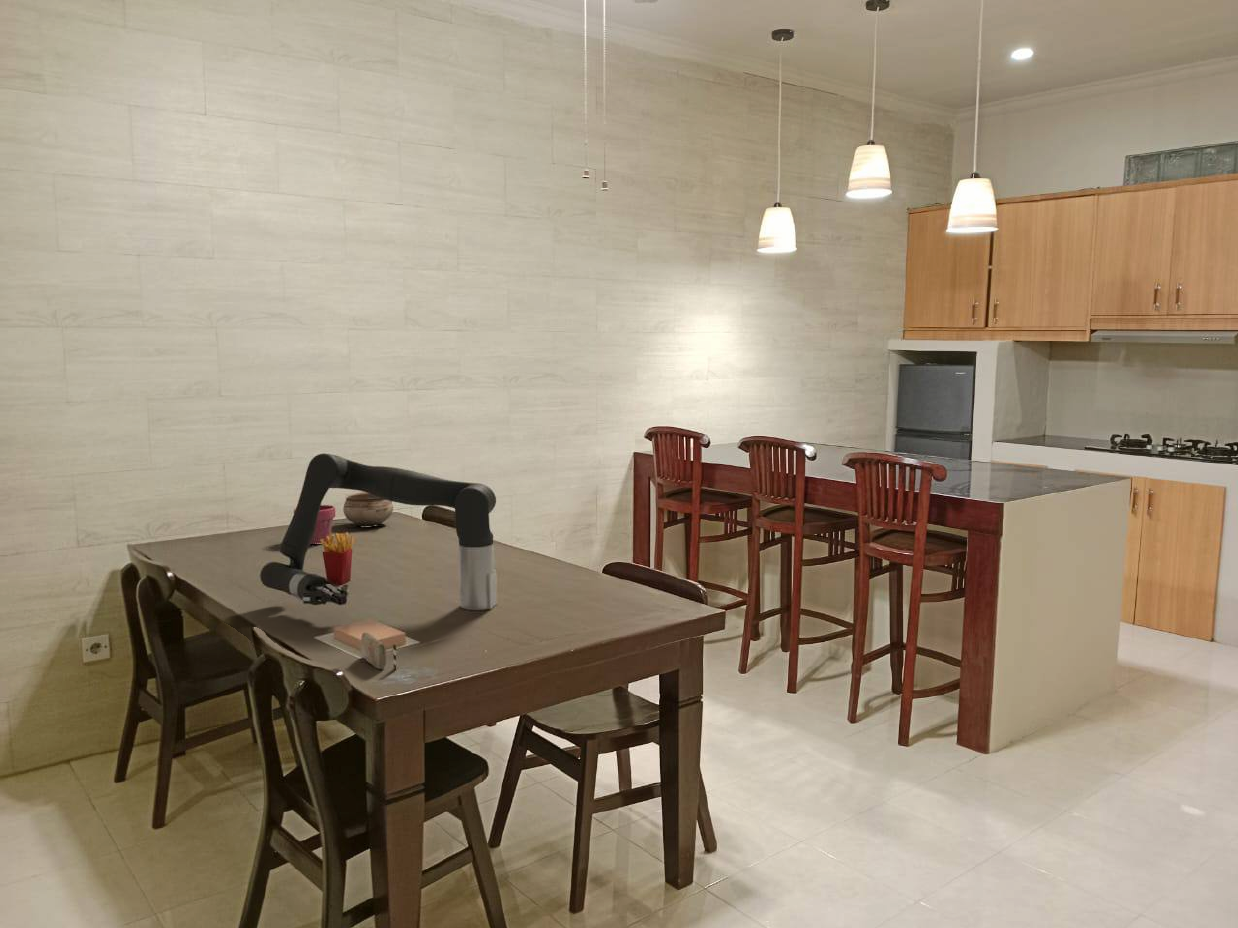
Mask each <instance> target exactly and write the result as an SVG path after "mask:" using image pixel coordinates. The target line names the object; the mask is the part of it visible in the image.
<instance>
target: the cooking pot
mask: <svg viewBox="0 0 1238 928" xmlns="http://www.w3.org/2000/svg"><path fill="white" fill-rule="evenodd" d="M344 498H345V501H344V505H343V514H344V516H345V518H346V519H347V521H349V522H351V523H353V524H355V525H357V526H359V527H360V526H374V525H378V526H379V525H381V524H382V523H384V522H385V521H387V520H388V519H389V518H390V517H391V516H392V514H393V511H394V504H393V501H389V500H385V499H382V498H379V497H377V496H374V495H372V494H369V493H367V492H363V491H358V492H352V493H349V494H345V495H344Z"/></svg>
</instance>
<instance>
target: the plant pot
mask: <svg viewBox="0 0 1238 928" xmlns="http://www.w3.org/2000/svg"><path fill="white" fill-rule="evenodd" d="M295 510H296V507H295V508H294V509H293V514H294V513H295ZM335 517H336V506H334V505H332V504H331V505H330V504H329V505H328V504H321V505H320V508H319V513H318V518H317V525H316V530H315V533H314V536H313V539H312V541H311V543H310V544H315V543H316V544H317V543H321V541H320V539H323V540H324V541H325V542H327V539H326V536H329V538H330V539H331V536H332V535H331V534H332V528H333V520H334V519H335Z"/></svg>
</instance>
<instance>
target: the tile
mask: <svg viewBox="0 0 1238 928" xmlns="http://www.w3.org/2000/svg"><path fill="white" fill-rule="evenodd" d="M333 633H334V638H335V639H337V640H340V641H342V642H344V643H346V644H349V645H351V646H353V647H355V648H358V649H361V638H362V634H363V633H369V634H370V635H372V636H373V637H374V638H376V639H377V640H378V641H380V642H381V643H383V644H384V646H385V649H386V648H390V647H393V644H394V645H396V646H397V645H401V644H405V643H406V637H407V636H406V635H407V633H406V632H404V631H401V630H400V629H396V628H394V627H391V626H389V625H386V624H383V623H381V622H379V621H376V620H373V619H367V620H361V621H358V622H357V621H356V622H354V623H349V624H345V625H342V626H336V627H333Z"/></svg>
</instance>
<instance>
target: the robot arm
mask: <svg viewBox="0 0 1238 928" xmlns="http://www.w3.org/2000/svg"><path fill="white" fill-rule="evenodd" d="M308 463H309V464H308V465H307V469H306V472H305V475H304V476H305V477H304V480H303V484H302V488H301V492H300V495H299V498H298V503H297V504H296V507H295V508H296V510H295V513H294V512H293V516H292V518H291V520H290V523H289V525H288V527H287V529H286V532H285V534H284V536H283V538H282V541H281V544H280V546H279V552H280V554H282V555H283V556H285V557H286V558H288V559H289V564H286V563H285V564H284V563H281V562H277V561H270V562H267V563H266V564H265V565H264V566H263V567H262V569H261V571H260V574H259V576H260V581H261V583H262V585H264V586H265V588H268V589H269V588H270V589H273V590H275V591H276V590H277V591H280V592H284V593H286V594H288V595H290V596H292V597H295V598H296V599H298V600H300V601H302V604H304V605H307V604H308V605H311V606H319V605H327V604H336V605H338V606H344V605H346V604H347V602H348V601H347V600H348V598H347V597H348V596H349V594H350V593H349V584H343V585H342V586H341V587H338V586H337V585H334V584H330V582H329V581H328V580H327V577H324V576H322V575H318V574H317V573H313V572H309V571H304V570H303V569H304V563H305V561H306V560H305V559H306V555H307V552H308V549H309V548H310V546H311V545H310V543H311V541H312V539H313V536H314V533H315V530H316V525H317V518H318V513H319V508H320V505H322V502H323V500H324V498H325V496H326V495H327V493H328V491H329V489H341V490H342V489H345V490H351V491H352V490H353V491H358V492H367V493H369V494H372V495H374V496H377V497H379V498H382V499H385V500H389V501H392V503H393V502H394V503H398V504H404V505H408V506H427V507H428V506H431V507H432V506H438V507H439V506H440V507H448V508H451V509H452V508H453V509H454V517H455V518H454V520H455V529H456V530H455V531H456V532H455V533H456V536H457V538H458V554H459V555H458V556H459V557H458V559H459V560H458V561H459V588H460V591H459V593H460V595H459V596H460V608H462V609H463V610H468V611H483V610H484V611H485V610H492V609H493V608H494V607H495V606H496V605H497V604H498V587H497V586H498V585H497V584H498V583H497V574H498V573H497V569H495V558H494V557H495V556H494V552H495V551H494V533H493V532H492V531H491V527H490V526H491V525H490V513H492V511H493V510H494V508H495V506H496V504H497V497H496V494H495V492H494V491H493V489H491V488H490V487H489V486H487V485H486V484H483V483H478V482H477V483H476V482H464V481H456V480H451V479H450V480H449V479H444V478H440V477H438V476H434V475H430V474H427V473H422V472H417V471H414V470H409V469H405V468H400V467H392V466H384V465H383V466H379V465H377V466H376V465H367V464H363V463H359V462H356V461H353V460H350V459H347V458H344V457H342V456H339V455H336V454H331V453H320V454H317V455H315V456H314V457H312V458H311V460H310V461H309V462H308Z"/></svg>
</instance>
